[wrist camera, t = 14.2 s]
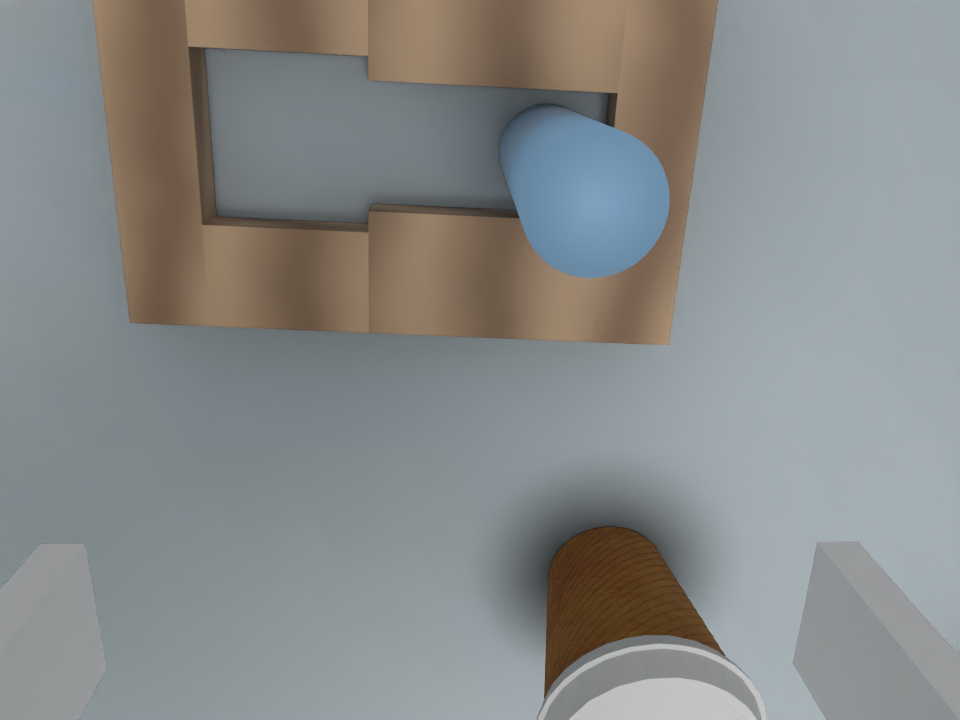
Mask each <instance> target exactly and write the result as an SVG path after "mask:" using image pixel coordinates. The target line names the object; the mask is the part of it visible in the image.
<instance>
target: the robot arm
mask: <svg viewBox="0 0 960 720" xmlns="http://www.w3.org/2000/svg"><path fill="white" fill-rule="evenodd" d="M793 664H794V666H795V667H796V669H797V671H798V672H799V674H800V676H801V678H802V679H803V681H804V683H805V684H806V686H807V688H808V689H809V691H810V693H811V694H812V696H813V698H814V700H815V701H816V703H817V705H818V706H819V708H820V710H821V711H822V713H823V715H824V716H825V718H826V720H960V656H959V655H958V654H957V653H956V652H955V651H954V649H953V648H952V647H951V646H950V645H949V644H948V643H947V642H946V640H945V639H944V638H943V637H942V636H941V635H940V634H939V633H938V631H937V630H936V629H935V628H934V627H933V626H932V625H931V623H930V622H929V621H928V620H927V619H926V618H925V617H924V616H923V614H922V613H921V612H920V611H919V610H918V609H917V608H916V607H915V605H914V604H913V603H912V602H911V601H910V600H909V599H908V598H907V596H906V595H905V594H904V593H903V592H902V591H901V590H900V588H899V587H898V586H897V585H896V584H895V583H894V582H893V581H892V579H891V578H890V577H889V576H888V575H887V574H886V573H885V572H884V570H883V569H882V568H881V567H880V566H879V565H878V564H877V562H876V561H875V560H874V559H873V558H872V557H871V556H870V555H869V553H868V552H867V551H866V550H865V549H864V548H863V547H862V546H861V544H860V543H859V542H817V546H816V551H815V556H814V561H813V566H812V571H811V576H810V581H809V586H808V591H807V595H806V600H805V605H804V610H803V615H802V620H801V625H800V630H799V635H798V640H797V645H796V650H795V654H794V659H793ZM106 671H107V665H106V659H105V654H104V648H103V642H102V637H101V631H100V625H99V620H98V614H97V608H96V603H95V597H94V592H93V586H92V580H91V575H90V569H89V563H88V558H87V552H86V546H85V544H40V545H39V546H38V547H37V548H36V549H35V550H34V552H33V553H32V554H31V555H30V556H29V557H28V558H27V560H26V561H25V562H24V563H23V564H22V565H21V566H20V568H19V569H18V570H17V571H16V572H15V573H14V575H13V576H12V577H11V578H10V579H9V580H8V581H7V583H6V584H5V585H4V586H3V587H2V588H1V589H0V720H79V718H80V716H81V715H82V713H83V711H84V709H85V708H86V706H87V704H88V702H89V701H90V699H91V697H92V695H93V694H94V692H95V690H96V688H97V687H98V685H99V683H100V681H101V680H102V678H103V676H104V674H105V673H106Z"/></svg>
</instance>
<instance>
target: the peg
mask: <svg viewBox="0 0 960 720" xmlns="http://www.w3.org/2000/svg"><path fill="white" fill-rule="evenodd" d="M500 162H501V166H502V169H503V172H504V175H505V178H506V181H507V184H508V186H509V189H510V192H511V195H512V198H513V201H514V203H515V206H516V209H517V212H518V215H519V218H520V221H521V223H522V226H523V229H524V232H525V234H526V237H527V239H528V241H529V242H530V244H531V246H532V248H533V249H534V250H535V251H536V253H537V254H538V255H539V256H540V257H541V258H542V259H543V260H544V261H545V262H546V263H548V264H549V265H550V266H552V267H553V268H555V269H557V270H559V271H561V272H563V273H566V274H568V275H572V276H576V277H582V278H600V277H606V276H610V275H614V274H617V273H619V272H621V271H624V270H626V269H628V268H629V267H631V266H633V265H634V264H636V263H637V262H638V261H640V260H641V259H642V258H643V257H644V256H645V255H646V254H647V253H648V252H649V251H650V250H651V249H652V247H653V246H654V245H655V243H656V242H657V240H658V239H659V237H660V235H661V233H662V231H663V229H664V226H665V223H666V220H667V216H668V211H669V202H670V196H669V186H668V181H667V177H666V174H665V172H664V169H663V167H662V165H661V163H660V161H659V160H658V158H657V157H656V155H655V154H654V153H653V152H652V151H651V150H650V149H649V147H648V146H646V145H645V144H644V143H643V142H642V141H640V140H639V139H637V138H635V137H634V136H632V135H630V134H628V133H625V132H623V131H620V130H618V129H616V128H613V127H611V126H608V125H606V124H603V123H601V122H598V121H596V120H593V119H591V118H588V117H586V116H584V115H581V114H579V113H576V112H574V111H571V110H569V109H566V108H564V107H561V106H558V105H553V104H540V105H535V106H532V107H529V108H527V109H525V110H523V111H522V112H520V113H519V114H518V115H516V116H515V117H514V118H513V119H512V120H511V122H510V123H509V124H508V126H507V127H506V129H505V131H504V133H503V136H502V139H501V143H500Z"/></svg>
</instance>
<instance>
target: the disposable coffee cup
mask: <svg viewBox="0 0 960 720" xmlns="http://www.w3.org/2000/svg"><path fill="white" fill-rule="evenodd" d="M537 720H767V718H766V711H765V706H764V704H763V701H762V699H761V696H760V694H759V692H758V690H757V689H756V687H755V686H754V684H753V682H752V681H751V679H750V678H749V677H748V676H747V675H746V674H745V673H744V672H743V671H742V670H741V669H740V668H739V667H738V666H737V665H736V664H735V663H734V662H732V661H730V660H729V659H728V658H726V657H725V654H724V653H723V651H722V650H721V649H720V647H719V645H718V643H717V642H716V641H715V639H714V638H713V635H712V634H711V633H710V631H709V630H708V628H707V627H706V625H705V623H704V621H703V620H702V618H701V617H700V616H699V614H698V612H697V611H696V609H695V608H694V606H693V605H692V603H691V601H690V600H689V599H688V597H687V595H686V593H685V592H684V591H683V589H682V587H681V586H680V584H679V583H678V581H677V580H676V578H675V577H674V575H673V573H672V572H671V570H670V569H669V567H668V566H667V564H666V563H665V561H664V559H663V558H662V556H661V554H660V553H659V551H658V550H657V548H656V547H655V545H654V544H653V543H652V542H651V541H649V540H648V539H647V538H646V537H644V536H642V535H641V534H639V533H637V532H635V531H632V530H629V529H625V528H619V527H602V528H597V529H592V530H588V531H586V532H583V533H581V534H578V535H577V536H575V537H573V538H572V539H570V540H569V541H568V542H567V543H565V544H564V545H563V546H562V547H561V548H560V549H559V550H558V552H557V553H556V555H555V557H554V559H553V561H552V563H551V565H550V568H549V572H548V599H547V629H546V662H545V693H544V701H543V704H542V707H541V709H540V711H539V713H538V716H537Z"/></svg>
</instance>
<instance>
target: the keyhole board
mask: <svg viewBox="0 0 960 720" xmlns="http://www.w3.org/2000/svg"><path fill="white" fill-rule="evenodd" d="M92 1H93V9H94V18H95V27H96V35H97V44H98V52H99V61H100V70H101V78H102V87H103V95H104V104H105V113H106V121H107V130H108V138H109V147H110V156H111V164H112V173H113V181H114V190H115V199H116V207H117V216H118V224H119V233H120V242H121V250H122V259H123V267H124V276H125V285H126V293H127V302H128V310H129V319H130V323H143V324H167V325H192V326H216V327H240V328H264V329H289V330H313V331H337V332H361V333H386V334H410V335H434V336H458V337H483V338H507V339H531V340H555V341H580V342H604V343H628V344H653V345H669V339H670V332H671V325H672V318H673V311H674V304H675V297H676V290H677V283H678V276H679V269H680V262H681V255H682V248H683V241H684V234H685V227H686V220H687V213H688V206H689V200H690V193H691V186H692V179H693V172H694V165H695V158H696V151H697V144H698V137H699V130H700V123H701V116H702V109H703V102H704V95H705V88H706V81H707V74H708V67H709V60H710V53H711V46H712V39H713V32H714V25H715V18H716V11H717V4H718V0H92ZM205 48H219V49H238V50H257V51H276V52H295V53H314V54H333V55H352V56H368V80H373V81H392V82H412V83H431V84H450V85H470V86H489V87H508V88H528V89H547V90H566V91H585V92H605V93H609V100H608V110H607V119H606V125H608V126H611V127H613V128H616V129H618V130H620V131H623V132H625V133H628V134H630V135H632V136H634V137H635V138H637V139H639V140H640V141H642V142H643V143H644V144H645V145H646V146H648V147H649V149H650V150H651V151H652V152H653V153H654V154H655V155H656V157H657V158H658V160H659V161H660V163H661V165H662V167H663V169H664V172H665V174H666V177H667V181H668V186H669V196H670V202H669V211H668V216H667V220H666V223H665V226H664V229H663V231H662V233H661V235H660V237H659V239H658V240H657V242H656V243H655V245H654V246H653V247H652V249H651V250H650V251H649V252H648V253H647V254H646V255H645V256H644V257H643V258H642V259H641V260H640V261H638V262H637V263H636V264H634V265H633V266H631V267H629V268H628V269H626V270H624V271H621V272H619V273H617V274H614V275H610V276H606V277H600V278H582V277H576V276H572V275H568V274H566V273H563V272H561V271H559V270H557V269H555V268H553V267H552V266H550V265H549V264H548V263H546V262H545V261H544V260H543V259H542V258H541V257H540V256H539V255H538V254H537V253H536V251H535V250H534V249H533V248H532V246H531V244H530V242H529V241H528V239H527V237H526V234H525V232H524V229H523V226H522V223H521V221H520V218H519V215H518V212H517V210H500V209H479V208H457V207H436V206H414V205H393V204H373V205H372V207H371V208H370V210H369V211H368V223H347V222H325V221H303V220H281V219H259V218H237V217H216V203H215V189H214V174H213V160H212V146H211V132H210V118H209V104H208V90H207V76H206V62H205Z"/></svg>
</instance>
